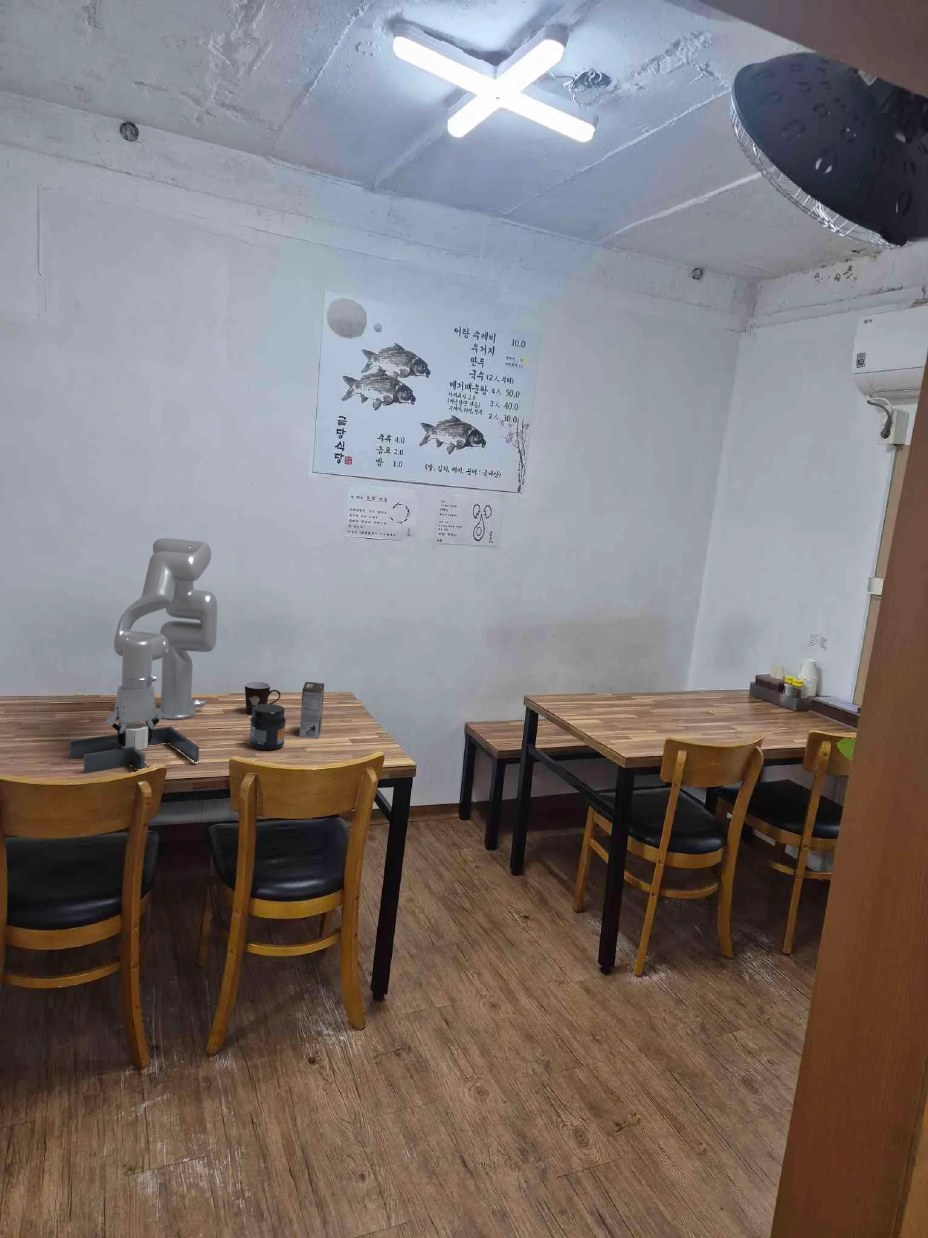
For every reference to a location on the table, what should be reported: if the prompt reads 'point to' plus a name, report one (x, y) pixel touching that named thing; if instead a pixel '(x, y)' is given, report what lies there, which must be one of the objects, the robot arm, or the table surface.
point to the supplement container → (267, 727)
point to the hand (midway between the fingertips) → (134, 742)
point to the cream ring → (136, 735)
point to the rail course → (125, 750)
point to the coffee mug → (257, 695)
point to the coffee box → (311, 710)
